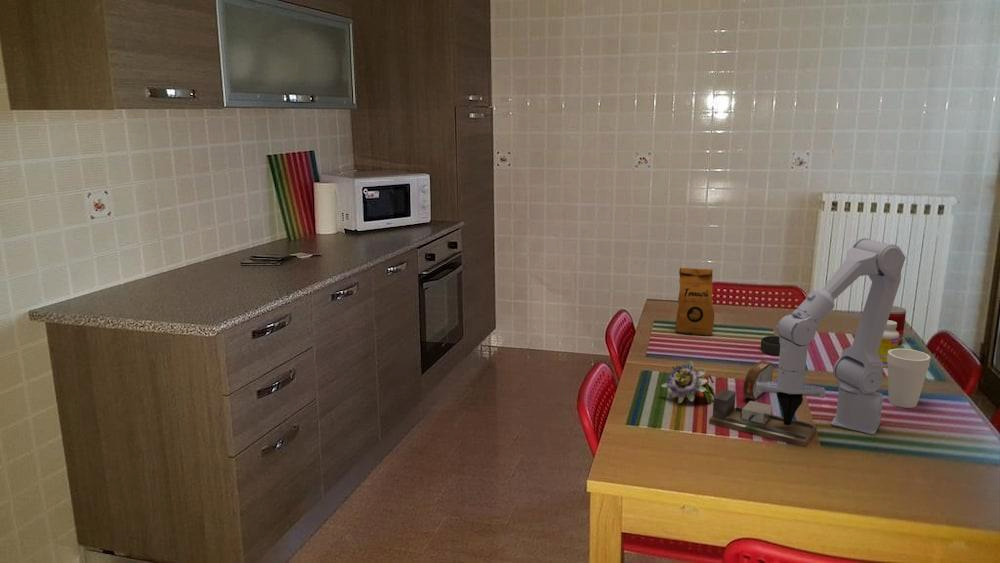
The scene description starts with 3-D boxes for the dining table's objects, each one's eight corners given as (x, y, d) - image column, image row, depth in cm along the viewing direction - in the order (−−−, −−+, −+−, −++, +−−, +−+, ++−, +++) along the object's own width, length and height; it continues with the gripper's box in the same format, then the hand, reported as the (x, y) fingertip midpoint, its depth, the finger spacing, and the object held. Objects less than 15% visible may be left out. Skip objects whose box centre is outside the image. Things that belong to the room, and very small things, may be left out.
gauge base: (816, 431, 172) (818, 407, 170) (805, 447, 164) (807, 422, 162) (723, 409, 184) (724, 387, 183) (709, 423, 176) (710, 400, 175)
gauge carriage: (770, 417, 175) (771, 405, 175) (759, 429, 169) (760, 417, 168) (746, 412, 178) (747, 400, 178) (735, 424, 172) (736, 411, 171)
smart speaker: (795, 356, 223) (796, 344, 222) (765, 356, 223) (766, 344, 222) (784, 347, 231) (785, 335, 230) (756, 347, 232) (757, 335, 231)
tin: (762, 384, 200) (764, 355, 198) (773, 387, 198) (776, 357, 196) (740, 401, 189) (743, 370, 187) (752, 404, 187) (755, 373, 185)
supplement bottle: (889, 369, 211) (895, 326, 208) (866, 363, 216) (871, 321, 213) (899, 364, 215) (904, 322, 212) (875, 358, 220) (880, 317, 217)
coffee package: (712, 338, 240) (716, 272, 235) (673, 334, 244) (676, 270, 239) (714, 329, 249) (718, 266, 244) (677, 326, 253) (680, 264, 248)
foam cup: (889, 393, 194) (895, 346, 191) (928, 402, 187) (935, 354, 184) (876, 403, 187) (882, 354, 184) (916, 413, 181) (923, 363, 178)
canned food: (903, 340, 237) (907, 307, 234) (900, 347, 230) (905, 313, 228) (876, 336, 241) (880, 304, 238) (873, 343, 234) (877, 309, 232)
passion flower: (679, 422, 190) (653, 385, 189) (690, 400, 198) (665, 365, 198) (717, 407, 183) (689, 369, 182) (726, 385, 192) (700, 348, 191)
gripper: (823, 364, 169) (818, 419, 172) (757, 359, 173) (752, 413, 176) (828, 375, 162) (822, 431, 165) (759, 369, 166) (754, 425, 169)
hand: (786, 423), depth 170 cm, fingers closed
